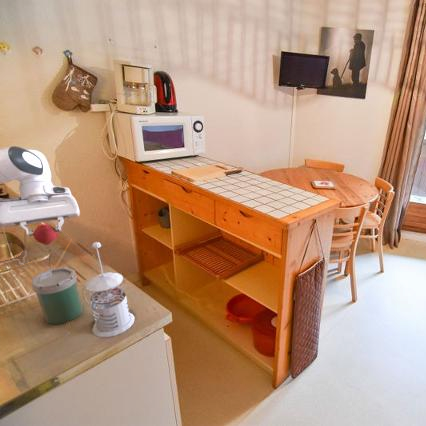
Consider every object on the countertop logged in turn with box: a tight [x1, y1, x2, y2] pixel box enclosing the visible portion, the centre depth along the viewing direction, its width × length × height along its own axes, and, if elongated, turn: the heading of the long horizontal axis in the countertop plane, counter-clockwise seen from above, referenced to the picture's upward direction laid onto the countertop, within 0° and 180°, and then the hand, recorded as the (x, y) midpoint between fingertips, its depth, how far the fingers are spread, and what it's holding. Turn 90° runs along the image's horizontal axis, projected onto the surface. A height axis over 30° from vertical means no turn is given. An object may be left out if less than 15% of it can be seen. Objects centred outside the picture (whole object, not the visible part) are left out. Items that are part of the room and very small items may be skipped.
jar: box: [30, 266, 84, 325], centre depth 85 cm, size 9×9×12 cm
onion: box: [33, 222, 58, 246], centre depth 104 cm, size 6×6×8 cm
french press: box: [82, 241, 136, 338], centre depth 81 cm, size 10×12×25 cm
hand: (45, 233), depth 103 cm, fingers closed on onion, 6 cm apart
